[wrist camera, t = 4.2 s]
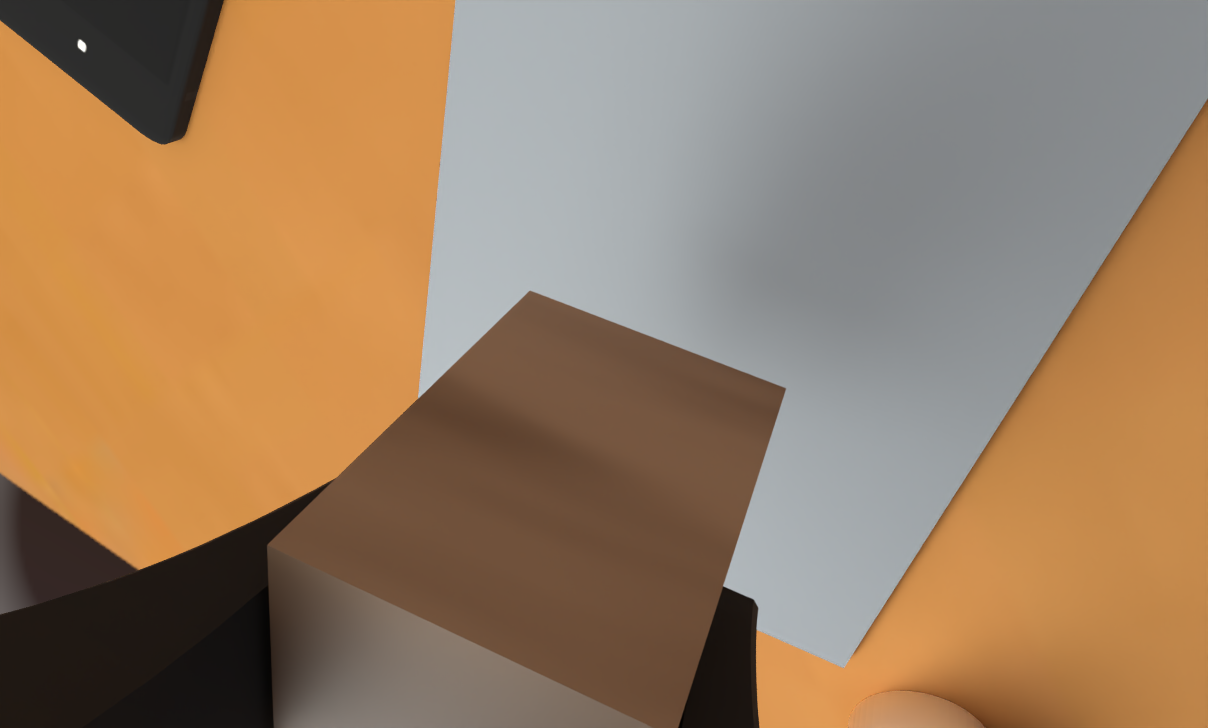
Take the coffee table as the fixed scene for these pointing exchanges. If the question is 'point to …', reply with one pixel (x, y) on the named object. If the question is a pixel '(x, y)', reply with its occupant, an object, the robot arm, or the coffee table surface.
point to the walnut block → (524, 538)
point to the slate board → (812, 227)
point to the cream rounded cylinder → (910, 712)
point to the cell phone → (126, 53)
